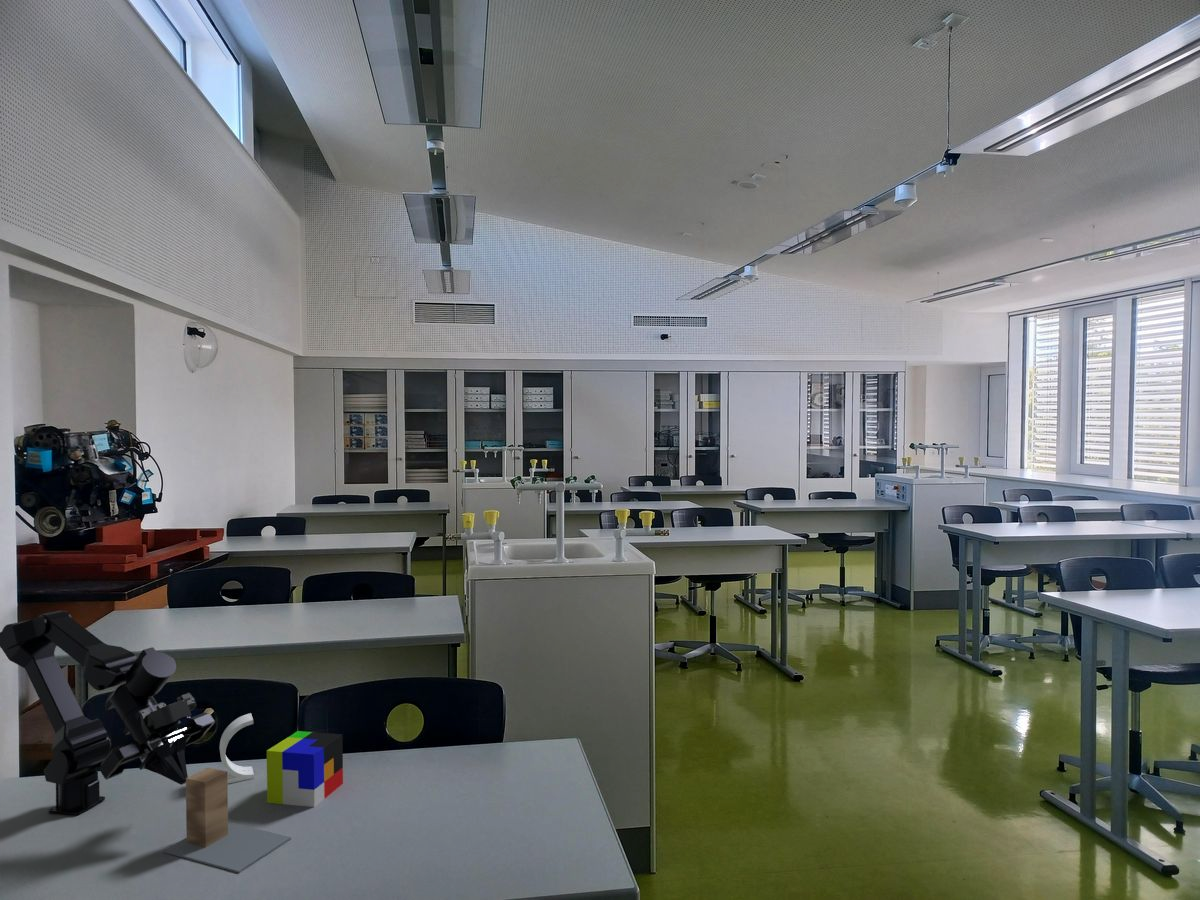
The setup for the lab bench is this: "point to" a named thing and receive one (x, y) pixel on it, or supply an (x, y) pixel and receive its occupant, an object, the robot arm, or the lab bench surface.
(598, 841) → the lab bench surface
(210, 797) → the walnut block
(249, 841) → the slate mat
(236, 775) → the headphone stand
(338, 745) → the puzzle toy
